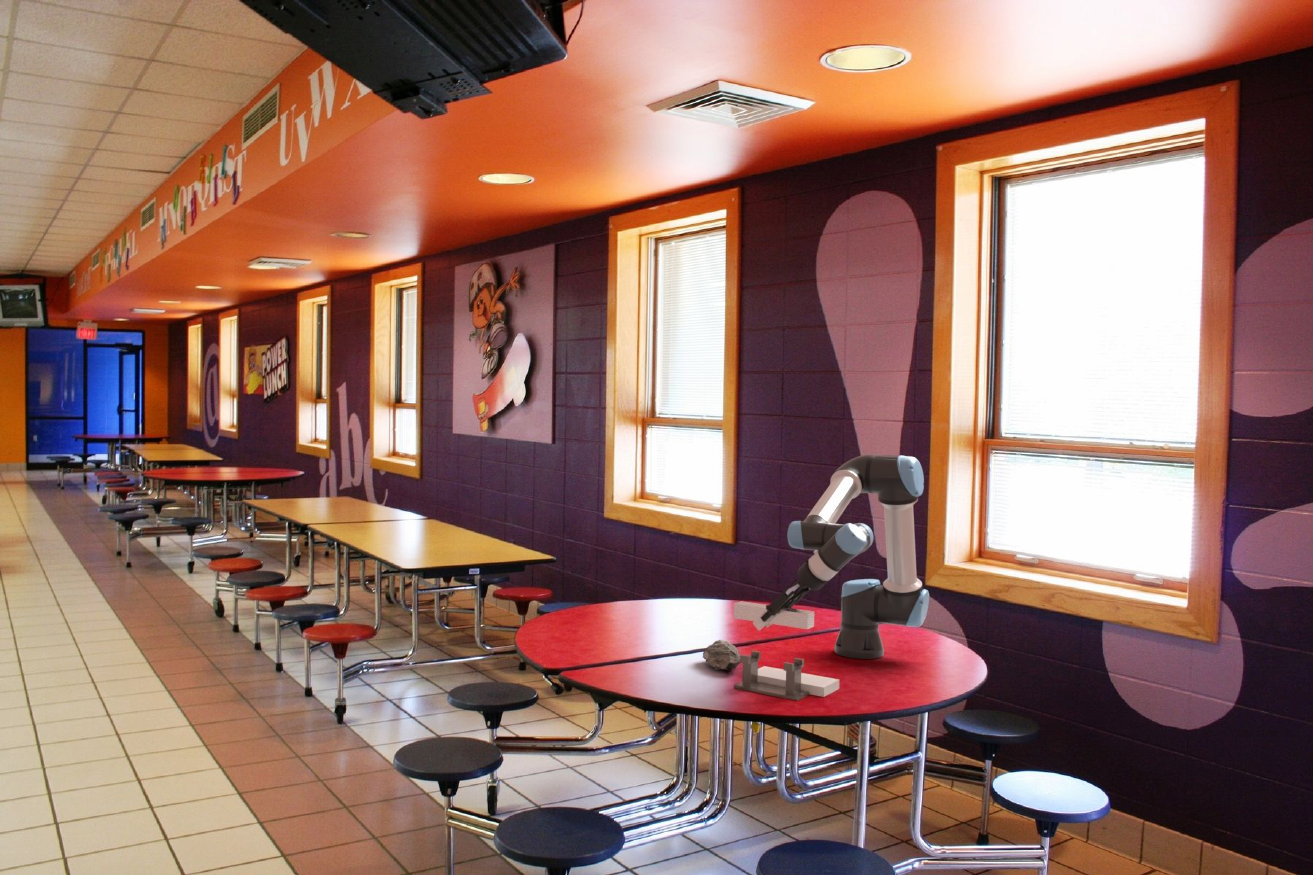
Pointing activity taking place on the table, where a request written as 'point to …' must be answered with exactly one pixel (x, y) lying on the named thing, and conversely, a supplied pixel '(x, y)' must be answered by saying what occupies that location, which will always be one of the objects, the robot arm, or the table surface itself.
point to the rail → (783, 617)
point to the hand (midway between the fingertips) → (760, 624)
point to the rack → (752, 685)
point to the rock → (722, 655)
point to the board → (808, 681)
